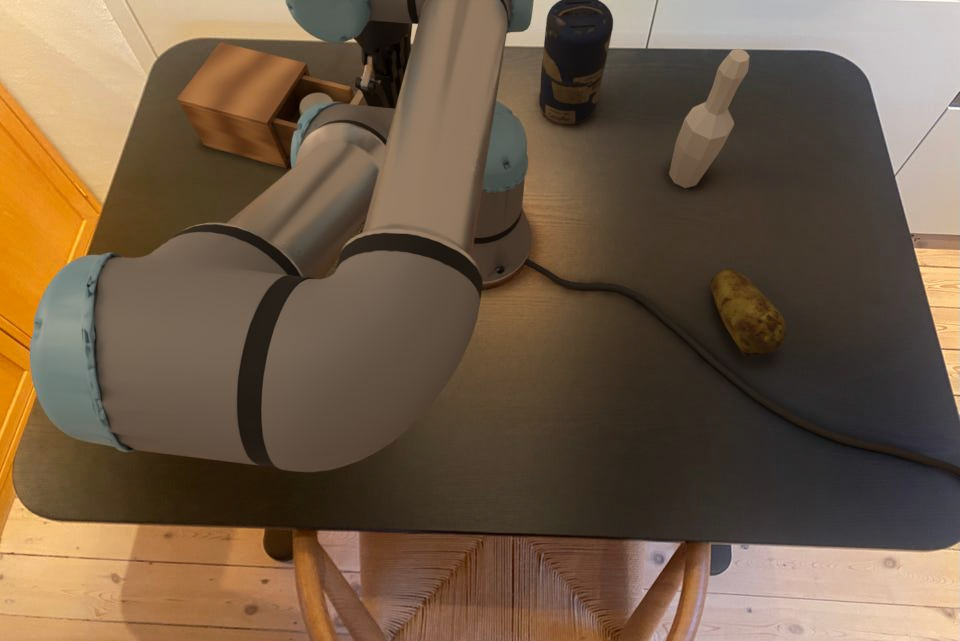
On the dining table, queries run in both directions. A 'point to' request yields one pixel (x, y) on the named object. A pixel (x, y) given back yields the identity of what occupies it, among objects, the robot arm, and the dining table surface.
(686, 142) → the bowling pin
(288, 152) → the drawer
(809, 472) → the dining table surface
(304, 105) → the can
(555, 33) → the canister
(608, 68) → the dining table surface
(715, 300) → the potato
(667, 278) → the dining table surface
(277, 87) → the cabinet
